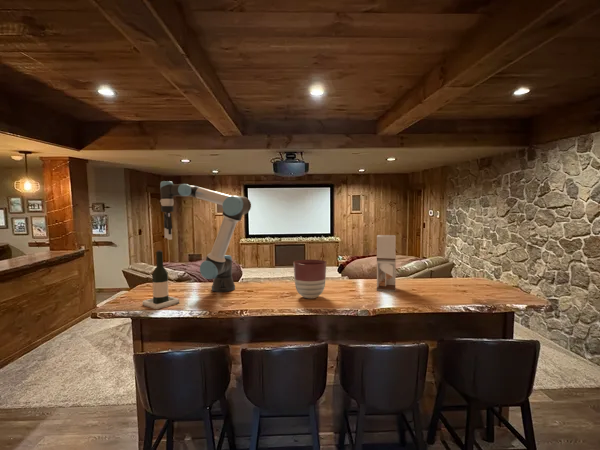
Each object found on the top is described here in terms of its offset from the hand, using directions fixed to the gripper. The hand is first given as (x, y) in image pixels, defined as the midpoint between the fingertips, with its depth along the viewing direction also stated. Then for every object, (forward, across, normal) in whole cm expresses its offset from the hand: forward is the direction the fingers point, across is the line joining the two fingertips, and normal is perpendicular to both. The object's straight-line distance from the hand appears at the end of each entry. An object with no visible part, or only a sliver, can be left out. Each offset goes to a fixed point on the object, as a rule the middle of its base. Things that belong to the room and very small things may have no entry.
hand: (168, 238), depth 215 cm
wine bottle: (+34, +27, -8) cm, 44 cm away
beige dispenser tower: (+35, +67, +124) cm, 145 cm away
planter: (+35, +58, +71) cm, 98 cm away
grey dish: (+35, +27, -8) cm, 45 cm away
